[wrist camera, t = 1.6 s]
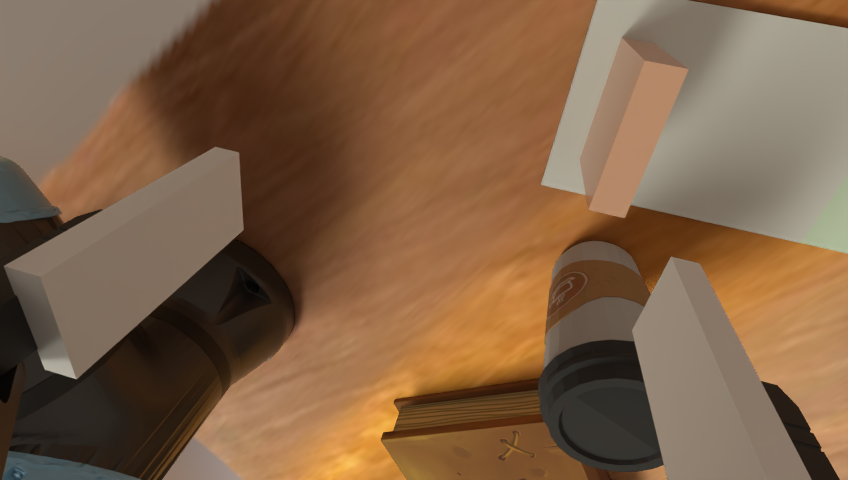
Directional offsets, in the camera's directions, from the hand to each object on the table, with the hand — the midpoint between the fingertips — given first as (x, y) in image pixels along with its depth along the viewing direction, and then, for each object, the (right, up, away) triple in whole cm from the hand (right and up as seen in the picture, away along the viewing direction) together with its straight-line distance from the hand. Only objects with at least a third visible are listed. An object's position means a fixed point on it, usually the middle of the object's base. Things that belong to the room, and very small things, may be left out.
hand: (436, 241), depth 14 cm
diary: (+10, -24, +38) cm, 46 cm away
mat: (+22, +7, +16) cm, 28 cm away
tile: (+12, +9, +17) cm, 22 cm away
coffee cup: (+13, -2, +24) cm, 27 cm away
